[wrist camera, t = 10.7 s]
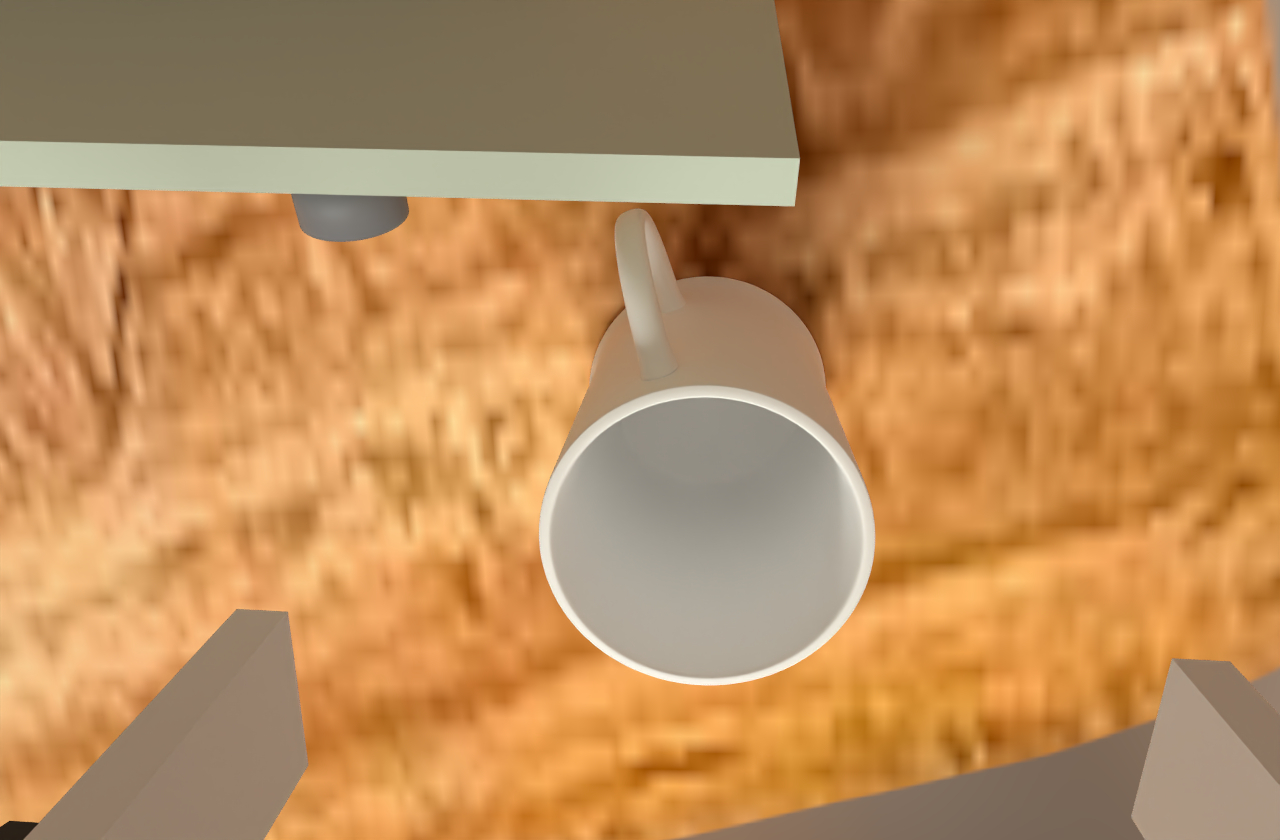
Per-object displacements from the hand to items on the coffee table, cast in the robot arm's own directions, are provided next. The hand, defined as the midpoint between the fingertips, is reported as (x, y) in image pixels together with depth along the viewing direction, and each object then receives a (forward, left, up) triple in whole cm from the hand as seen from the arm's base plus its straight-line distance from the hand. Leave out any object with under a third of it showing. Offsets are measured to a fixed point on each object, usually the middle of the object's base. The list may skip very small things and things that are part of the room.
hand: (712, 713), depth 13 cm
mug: (0, 0, -20) cm, 20 cm away
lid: (-11, +10, -8) cm, 17 cm away
